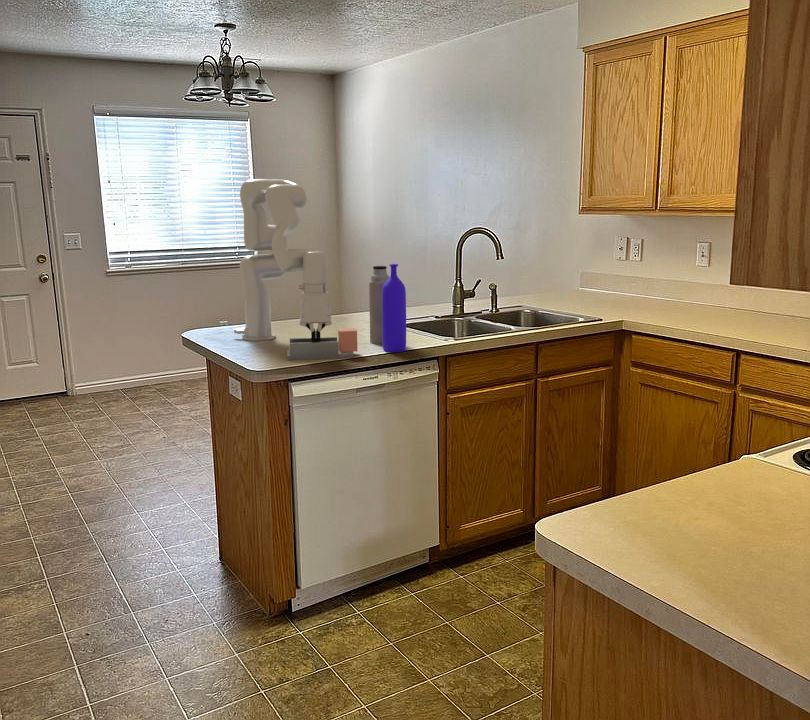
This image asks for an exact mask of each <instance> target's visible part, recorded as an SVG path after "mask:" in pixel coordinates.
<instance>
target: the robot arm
mask: <svg viewBox="0 0 810 720" xmlns="http://www.w3.org/2000/svg"><path fill="white" fill-rule="evenodd" d="M239 197H240V203H241V206H242V210H243V241H244V247H245V249H246V250H248V251H251V252H268V251H269V252H270V253H267V254H265V253H263V254H262V253H261V254H260V253H258V254H250V255H245V256H244V257H243V258H242V259H241V260H240V263H239V271H240V275H241V281H242V285H243V297H244V298H243V300H244V315H245V317H244V319H245V326H244V327H242V328H237V327H236V328H234V329H233V332H234V333H233V334H237V335H239V334H240V335H241V334H242V335H241V339H242V340H244V341H251V342H252V341H253V342H254V341H255V342H257V341H258V342H260V341H269V340H273V339H276V337H277V335H276V333H275V332H274V333H273V332H272V314H271V313H272V312H271V296H270V295H271V294H270V289H269V287H268V285H266V284H265V282H264V281H266V280H276V279H282V278H283V277H284V276H285V275H286V274H287V273H294V272H295V273H296V272H302V279H303V280H302V282H303V284H301V285H298V289H299V290H301V291H302V292H301V293H300V302H299V303H300V304H299V326H301V327H304V328H305V327H306V328H307V329H308V330H309V331H310V332H311V333H310V334H311V337H310V338H311V340H312V341H314V342H318V340H320V337H321V331H322V330H323V329H324V328H325V327H328V326H331V325H332V324H333V323H332V310H331V309H332V308H331V297H330V293H329V291H327V266H326V265H327V261H326V259H327V256H326V253H325V252H324V251H323V250H316V249H314V248H308V247H306V248H289V249H288V242H287V239H288V238H287V235H290V234H291V233H292V232H295V231H296V230H297V229H298V228H299V227H300V225H301V219H300V216H299V214H298V212H297V210H300V209H303V208H305V206H306V204H307V193H306V191H305V188H303V187H302V186H301V185H300V184H298V183H295V182H292V181H289V180H287V179H281V178H279V179H275V178H274V179H273V178H271V179H269V178H253V179H247V180H245V181H244V182H243V183H242V184H241V187H240V191H239ZM263 204H267V206H268V209H269V211H270V215H271V217H272V219H273V222H274V224H269V223H268V212H267V210H266V208H265V206H264V205H263ZM314 324H317V328H314Z"/></svg>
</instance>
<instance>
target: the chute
mask: <svg viewBox="0 0 810 720" xmlns="http://www.w3.org/2000/svg"><path fill="white" fill-rule="evenodd" d="M286 352H287V353H286V360H287V361H302V360H303V361H307V360H330V359H333V360H334V359H335V360H337V359H354V358H355V353H354V352H339V341H338V336H330V337H329V336H328V337H325V336H324V337H322V336H320V340H318V342H314V341H312V340H311V337H295V338H294V337H293V338H289V349H287V351H286Z"/></svg>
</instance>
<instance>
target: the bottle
mask: <svg viewBox="0 0 810 720" xmlns="http://www.w3.org/2000/svg"><path fill="white" fill-rule="evenodd" d="M398 266H399V264H398V263H389V267H390V275H389V279H388V280H387V281H386V283H385V284H384V286H383V290H382V332H383V344H382V348H383V349H382V350H383V352H386V353H403V352H405V351H406V350H407V297H406V296H407V295H406V294H407V291H406V286H405V284H404V283H403V281H402V280H401V279H400V278H399V277H398V271H397V268H398Z"/></svg>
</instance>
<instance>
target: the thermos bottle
mask: <svg viewBox="0 0 810 720" xmlns="http://www.w3.org/2000/svg"><path fill="white" fill-rule="evenodd" d="M372 269H373V272H372V274H371V276H370V281H369V282H368V291H369V293H368V294H369V295H368V297H369V298H368V299H369V300H368V301H369V304H368V305H369V343H370V344H375V345H383V332H382V290H383V286H384V284H385V283H386V281H387V280H388V279H389V278H390V275H389V274H387V266H386V265H375V266H372Z"/></svg>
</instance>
